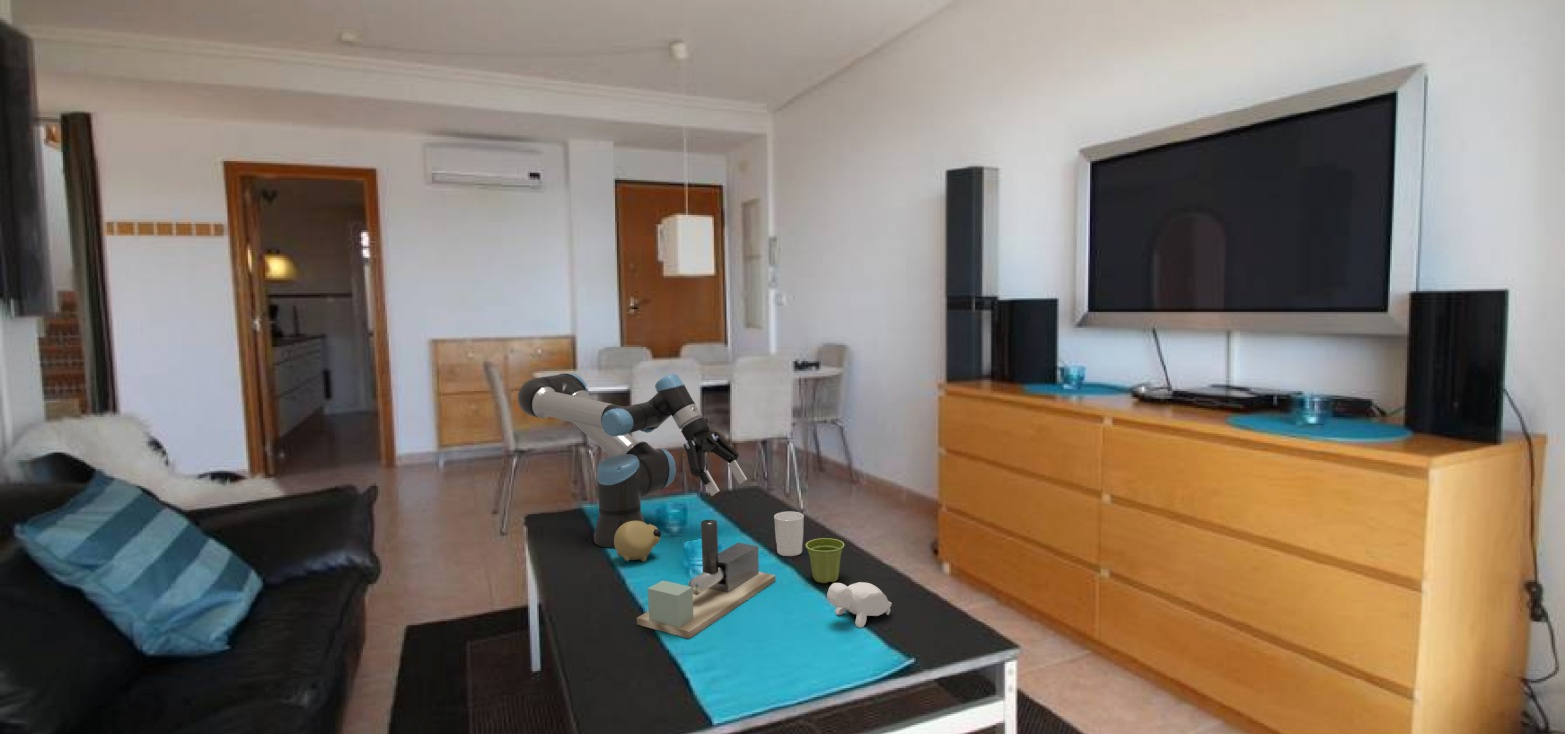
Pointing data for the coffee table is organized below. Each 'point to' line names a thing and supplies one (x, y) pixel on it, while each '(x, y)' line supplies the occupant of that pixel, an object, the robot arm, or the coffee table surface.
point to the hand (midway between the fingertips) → (729, 487)
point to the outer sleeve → (737, 566)
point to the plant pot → (825, 558)
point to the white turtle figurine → (858, 600)
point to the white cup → (789, 533)
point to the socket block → (670, 603)
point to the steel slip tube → (708, 559)
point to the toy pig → (636, 540)
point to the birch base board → (711, 606)
